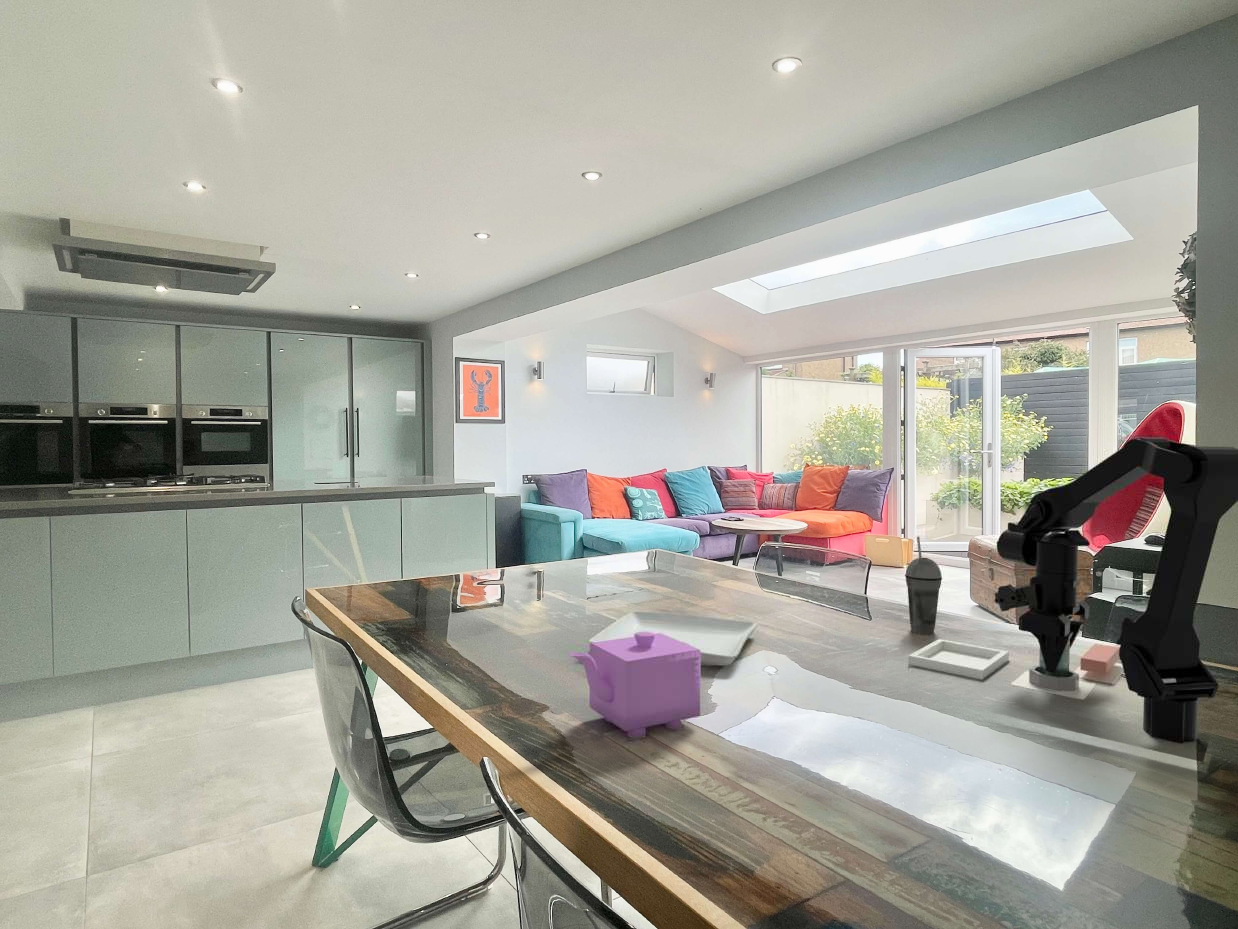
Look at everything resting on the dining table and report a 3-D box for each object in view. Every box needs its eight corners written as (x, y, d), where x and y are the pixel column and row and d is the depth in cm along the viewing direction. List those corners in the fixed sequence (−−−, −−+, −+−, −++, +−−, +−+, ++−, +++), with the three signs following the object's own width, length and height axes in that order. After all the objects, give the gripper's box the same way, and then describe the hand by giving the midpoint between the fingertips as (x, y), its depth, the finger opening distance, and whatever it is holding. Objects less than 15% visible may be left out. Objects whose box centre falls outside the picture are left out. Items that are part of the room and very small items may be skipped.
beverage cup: (945, 637, 148) (946, 539, 148) (907, 635, 150) (909, 538, 149) (936, 628, 155) (938, 535, 155) (900, 626, 157) (902, 534, 156)
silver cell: (1065, 690, 113) (1066, 627, 113) (1035, 684, 116) (1037, 623, 116) (1071, 684, 116) (1073, 623, 116) (1042, 678, 119) (1044, 618, 119)
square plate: (736, 677, 123) (736, 654, 123) (585, 660, 131) (585, 639, 131) (758, 637, 148) (758, 619, 148) (631, 626, 157) (631, 608, 157)
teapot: (673, 701, 110) (674, 618, 110) (714, 723, 101) (715, 634, 101) (553, 725, 100) (553, 635, 100) (586, 752, 91) (587, 653, 91)
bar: (1106, 674, 118) (1106, 662, 118) (1080, 669, 120) (1080, 657, 120) (1119, 659, 127) (1119, 647, 127) (1094, 654, 129) (1095, 643, 129)
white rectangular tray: (982, 685, 118) (982, 670, 118) (908, 669, 126) (908, 655, 126) (1008, 665, 129) (1008, 651, 129) (938, 652, 137) (939, 639, 137)
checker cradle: (1099, 709, 108) (1099, 689, 107) (1010, 690, 116) (1010, 672, 116) (1128, 670, 127) (1128, 653, 127) (1049, 656, 135) (1050, 640, 135)
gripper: (1016, 559, 128) (1014, 647, 128) (983, 572, 114) (981, 670, 114) (1090, 566, 120) (1088, 660, 121) (1065, 581, 107) (1062, 687, 107)
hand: (1054, 668), depth 116 cm, fingers closed on silver cell, 4 cm apart
